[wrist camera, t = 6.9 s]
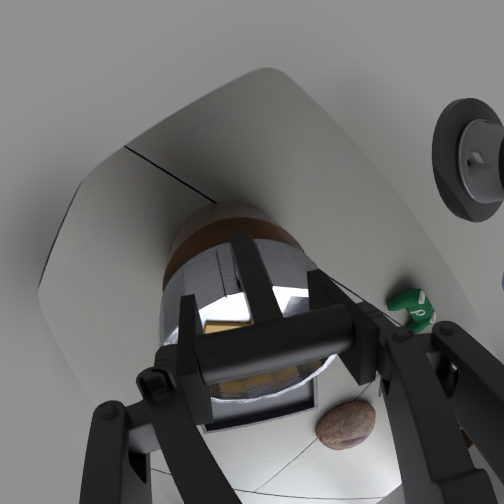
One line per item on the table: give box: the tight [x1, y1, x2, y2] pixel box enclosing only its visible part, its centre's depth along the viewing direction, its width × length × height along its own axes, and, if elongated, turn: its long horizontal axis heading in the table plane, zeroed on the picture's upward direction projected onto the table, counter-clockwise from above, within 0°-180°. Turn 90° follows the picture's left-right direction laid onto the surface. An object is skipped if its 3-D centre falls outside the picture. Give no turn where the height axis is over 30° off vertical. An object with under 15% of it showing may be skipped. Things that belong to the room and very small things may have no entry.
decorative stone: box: [316, 401, 376, 450], centre depth 50 cm, size 12×12×6 cm
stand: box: [163, 202, 305, 293], centre depth 34 cm, size 14×14×10 cm
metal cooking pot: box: [159, 229, 355, 403], centre depth 21 cm, size 18×14×13 cm
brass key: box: [204, 322, 252, 333], centre depth 28 cm, size 7×3×1 cm, turn 81°
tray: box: [201, 375, 318, 434], centre depth 44 cm, size 17×19×2 cm
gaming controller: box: [387, 289, 436, 334], centre depth 45 cm, size 9×4×6 cm
